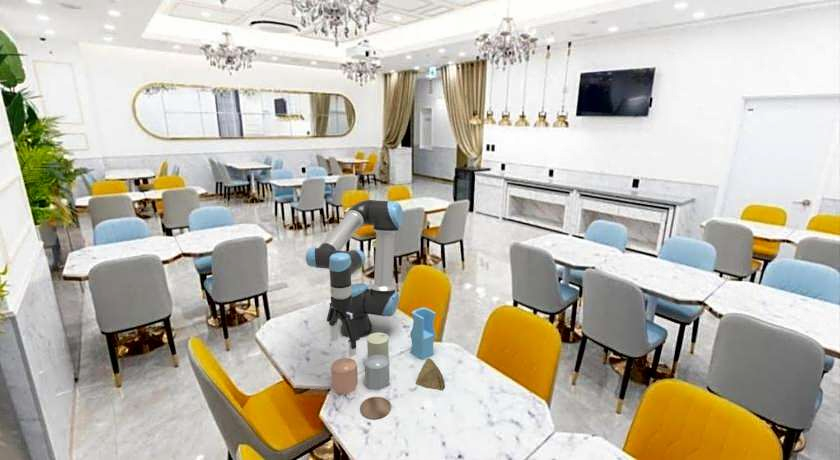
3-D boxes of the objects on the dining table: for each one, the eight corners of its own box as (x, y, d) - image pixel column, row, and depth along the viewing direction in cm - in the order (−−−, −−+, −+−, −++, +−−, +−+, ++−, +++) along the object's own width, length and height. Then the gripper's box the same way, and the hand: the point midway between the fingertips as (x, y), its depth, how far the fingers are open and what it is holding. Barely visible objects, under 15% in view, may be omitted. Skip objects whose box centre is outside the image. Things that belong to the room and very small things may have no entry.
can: (393, 361, 170) (393, 336, 166) (377, 371, 163) (376, 345, 160) (379, 353, 176) (378, 329, 173) (362, 362, 169) (362, 337, 166)
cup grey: (380, 372, 163) (379, 352, 160) (393, 383, 156) (393, 362, 153) (361, 380, 157) (360, 360, 154) (374, 392, 150) (373, 371, 148)
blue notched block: (421, 360, 171) (422, 318, 166) (410, 352, 176) (410, 311, 171) (435, 353, 176) (436, 312, 171) (423, 346, 182) (423, 306, 176)
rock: (452, 381, 154) (437, 365, 161) (444, 371, 148) (428, 356, 156) (433, 402, 151) (418, 386, 159) (424, 394, 146) (409, 377, 153)
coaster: (379, 394, 149) (379, 392, 149) (397, 409, 141) (397, 408, 141) (354, 406, 142) (354, 405, 142) (371, 424, 134) (371, 422, 134)
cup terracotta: (349, 375, 160) (348, 355, 158) (361, 386, 153) (360, 365, 151) (328, 384, 154) (327, 363, 152) (340, 396, 148) (339, 375, 145)
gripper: (316, 287, 151) (318, 337, 156) (349, 310, 132) (351, 366, 138) (333, 282, 155) (335, 331, 161) (368, 304, 137) (369, 358, 142)
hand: (343, 347), depth 149 cm, fingers open, 13 cm apart
